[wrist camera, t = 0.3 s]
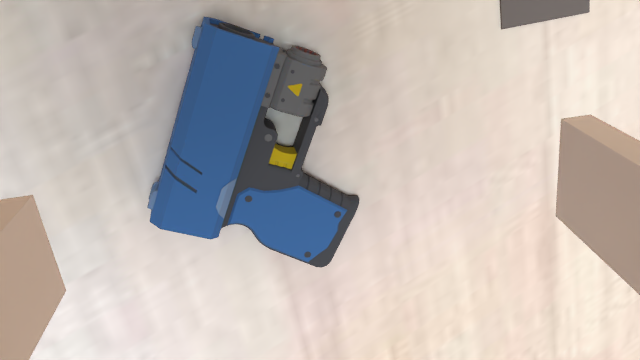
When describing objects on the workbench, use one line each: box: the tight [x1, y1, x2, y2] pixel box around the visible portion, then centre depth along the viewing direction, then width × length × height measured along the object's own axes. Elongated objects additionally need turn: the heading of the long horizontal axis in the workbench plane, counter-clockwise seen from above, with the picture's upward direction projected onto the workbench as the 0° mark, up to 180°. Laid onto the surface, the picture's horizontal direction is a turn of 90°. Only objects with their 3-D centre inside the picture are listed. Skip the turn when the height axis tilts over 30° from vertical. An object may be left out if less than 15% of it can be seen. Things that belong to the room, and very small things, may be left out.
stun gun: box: [147, 17, 359, 267], centre depth 42 cm, size 4×16×15 cm
